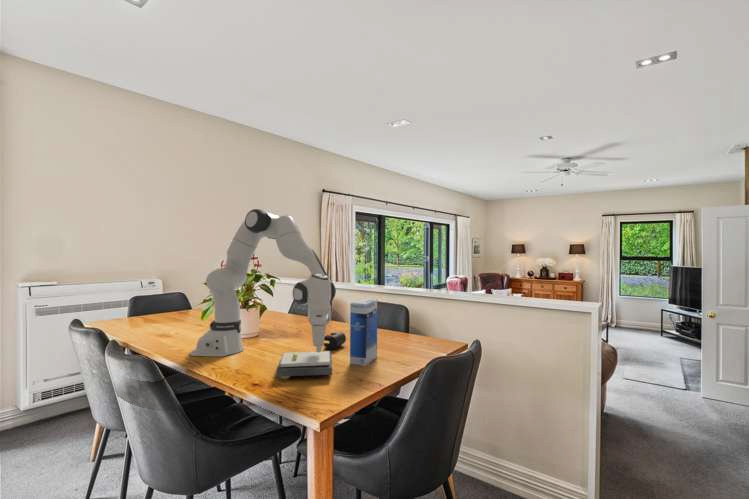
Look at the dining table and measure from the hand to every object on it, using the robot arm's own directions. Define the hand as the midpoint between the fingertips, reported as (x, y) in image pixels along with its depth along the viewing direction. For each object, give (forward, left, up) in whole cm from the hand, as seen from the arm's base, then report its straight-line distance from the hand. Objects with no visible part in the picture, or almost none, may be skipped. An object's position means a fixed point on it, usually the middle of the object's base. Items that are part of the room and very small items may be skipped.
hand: (318, 351), depth 143 cm
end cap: (+7, +34, -9) cm, 36 cm away
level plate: (-5, 0, -3) cm, 6 cm away
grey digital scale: (-5, 0, -8) cm, 10 cm away
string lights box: (+19, +12, -8) cm, 24 cm away
